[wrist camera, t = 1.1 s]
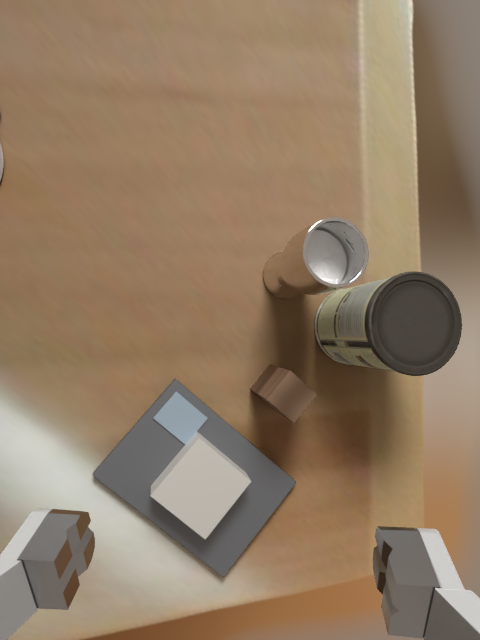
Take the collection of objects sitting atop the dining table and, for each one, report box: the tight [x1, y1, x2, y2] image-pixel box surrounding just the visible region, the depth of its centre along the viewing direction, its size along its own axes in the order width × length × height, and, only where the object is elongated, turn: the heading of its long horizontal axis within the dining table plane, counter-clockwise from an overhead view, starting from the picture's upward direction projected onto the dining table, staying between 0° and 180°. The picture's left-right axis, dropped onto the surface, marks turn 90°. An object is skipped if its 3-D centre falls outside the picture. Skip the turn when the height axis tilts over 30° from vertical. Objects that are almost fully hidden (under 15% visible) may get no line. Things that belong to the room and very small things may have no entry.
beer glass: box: [263, 217, 369, 299], centre depth 43 cm, size 7×7×15 cm
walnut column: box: [250, 365, 317, 423], centre depth 46 cm, size 4×4×8 cm
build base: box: [92, 379, 296, 577], centre depth 46 cm, size 20×14×4 cm
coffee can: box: [314, 272, 462, 376], centre depth 46 cm, size 10×10×14 cm
